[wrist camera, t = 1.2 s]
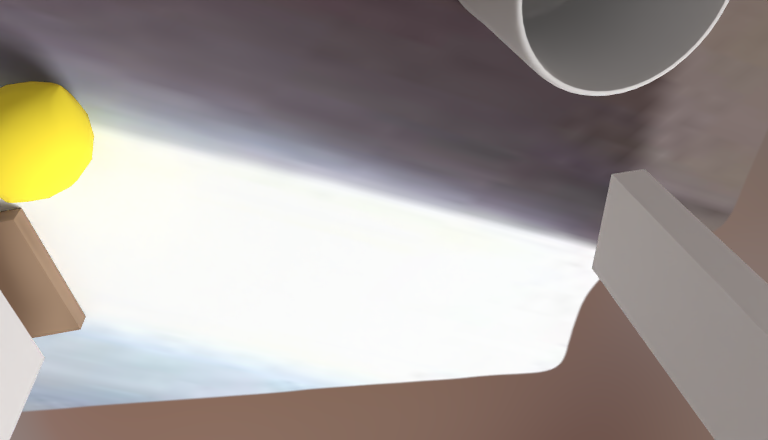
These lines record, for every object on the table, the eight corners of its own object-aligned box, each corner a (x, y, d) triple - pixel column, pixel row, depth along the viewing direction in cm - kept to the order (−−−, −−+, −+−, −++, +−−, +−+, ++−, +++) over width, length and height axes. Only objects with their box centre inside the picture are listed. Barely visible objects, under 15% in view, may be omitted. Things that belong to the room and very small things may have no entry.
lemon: (17, 43, 28) (-27, 67, 23) (124, 98, 30) (104, 129, 26) (-32, 156, 30) (-81, 199, 25) (73, 199, 32) (45, 246, 27)
